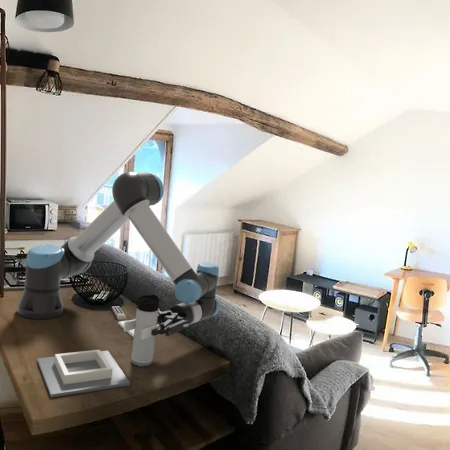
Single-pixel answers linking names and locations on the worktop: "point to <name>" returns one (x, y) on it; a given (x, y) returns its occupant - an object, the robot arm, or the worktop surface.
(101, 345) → the worktop surface
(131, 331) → the external hard drive
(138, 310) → the travel mug
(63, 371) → the dock
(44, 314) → the robot arm
